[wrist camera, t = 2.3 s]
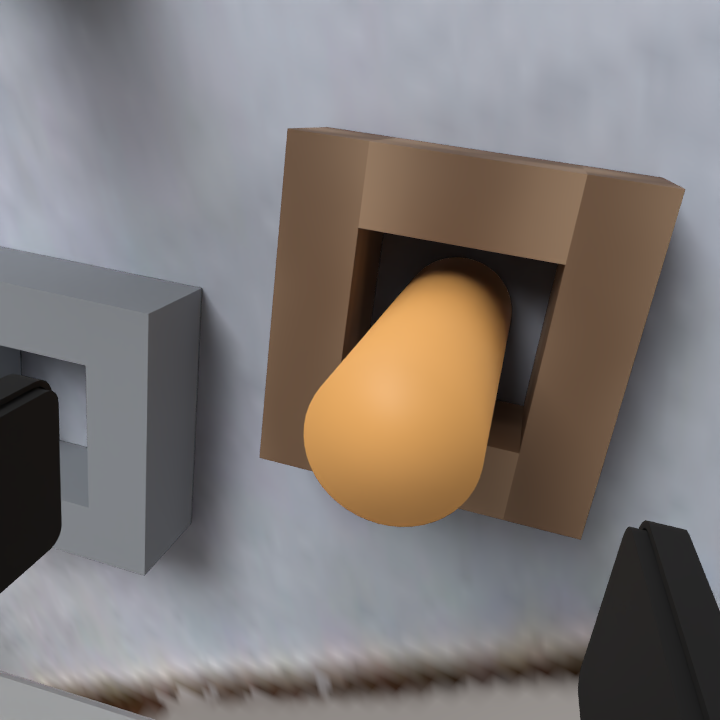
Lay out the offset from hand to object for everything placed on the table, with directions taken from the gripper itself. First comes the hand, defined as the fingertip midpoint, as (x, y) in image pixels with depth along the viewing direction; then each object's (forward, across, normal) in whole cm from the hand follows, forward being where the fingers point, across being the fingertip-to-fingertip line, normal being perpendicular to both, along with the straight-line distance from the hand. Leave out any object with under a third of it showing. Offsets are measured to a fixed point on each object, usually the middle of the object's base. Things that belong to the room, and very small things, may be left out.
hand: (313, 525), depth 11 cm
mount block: (+12, -1, 0) cm, 13 cm away
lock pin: (+12, -1, 0) cm, 13 cm away
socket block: (+13, +13, +6) cm, 19 cm away
